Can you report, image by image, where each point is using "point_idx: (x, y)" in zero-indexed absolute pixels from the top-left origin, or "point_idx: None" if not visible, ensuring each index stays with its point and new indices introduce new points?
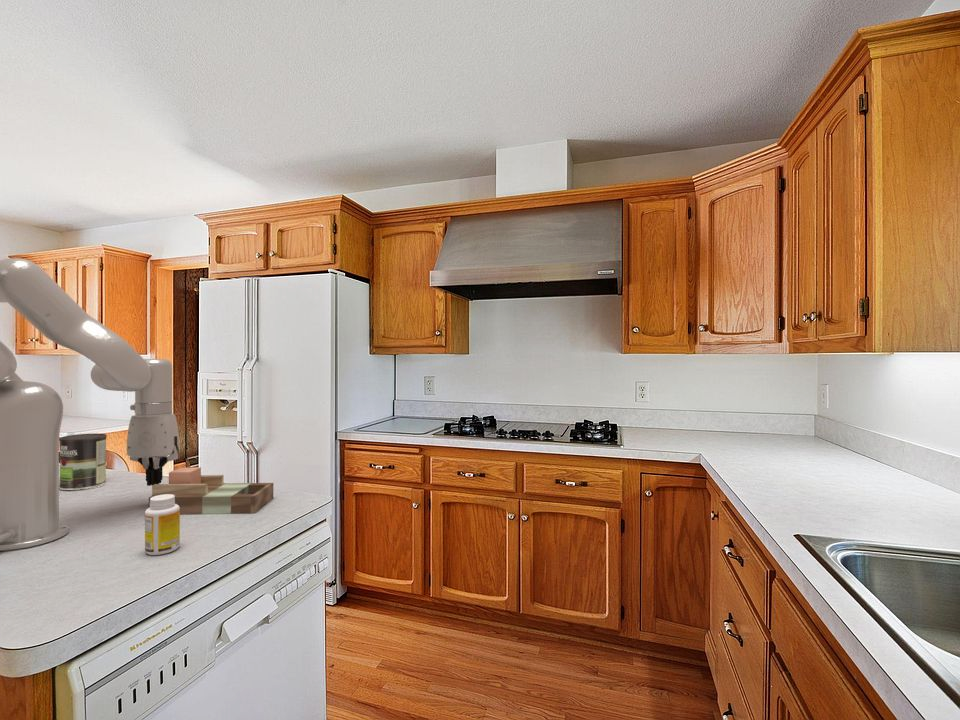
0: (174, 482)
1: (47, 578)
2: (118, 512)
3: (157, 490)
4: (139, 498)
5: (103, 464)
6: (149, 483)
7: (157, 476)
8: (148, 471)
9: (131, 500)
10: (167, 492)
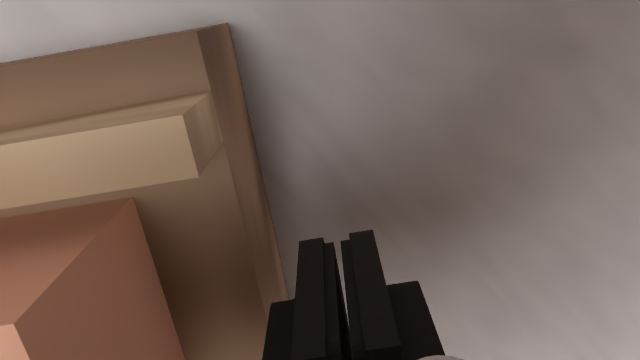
0: (19, 256)
1: None
2: (508, 51)
3: (137, 109)
4: (574, 343)
5: None
6: (350, 246)
7: (279, 328)
8: (370, 329)
9: (601, 302)
10: (45, 123)
